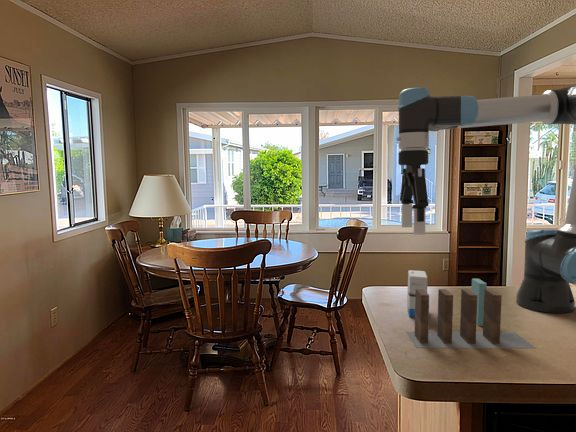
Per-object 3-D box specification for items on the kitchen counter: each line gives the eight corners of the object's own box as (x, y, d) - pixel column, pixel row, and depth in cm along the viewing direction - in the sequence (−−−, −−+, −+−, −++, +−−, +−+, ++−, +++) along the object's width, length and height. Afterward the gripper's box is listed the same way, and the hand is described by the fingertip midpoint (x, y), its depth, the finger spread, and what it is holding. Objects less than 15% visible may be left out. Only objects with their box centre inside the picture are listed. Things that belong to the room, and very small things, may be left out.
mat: (514, 333, 110) (515, 331, 110) (535, 349, 100) (536, 348, 100) (405, 333, 111) (405, 331, 111) (415, 349, 101) (415, 347, 101)
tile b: (490, 335, 108) (492, 289, 107) (499, 343, 103) (501, 295, 102) (482, 335, 108) (484, 289, 107) (491, 343, 103) (493, 295, 102)
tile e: (422, 335, 109) (423, 289, 108) (427, 343, 104) (429, 295, 102) (414, 335, 109) (415, 289, 108) (420, 343, 104) (421, 295, 102)
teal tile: (477, 320, 120) (478, 278, 119) (484, 327, 115) (486, 283, 114) (470, 320, 120) (471, 278, 119) (477, 327, 115) (479, 283, 114)
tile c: (467, 335, 108) (469, 289, 107) (475, 343, 103) (477, 295, 102) (459, 335, 108) (461, 289, 107) (467, 343, 103) (469, 295, 102)
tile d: (444, 335, 109) (446, 289, 107) (451, 343, 103) (453, 295, 102) (437, 335, 109) (438, 289, 107) (443, 343, 103) (445, 295, 102)
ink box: (427, 319, 121) (428, 277, 120) (408, 318, 122) (409, 276, 121) (424, 309, 130) (425, 270, 128) (406, 308, 131) (407, 269, 129)
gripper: (389, 152, 128) (389, 224, 130) (410, 148, 103) (409, 238, 105) (415, 151, 128) (415, 224, 130) (442, 147, 103) (441, 237, 105)
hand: (412, 230), depth 118 cm, fingers open, 13 cm apart
